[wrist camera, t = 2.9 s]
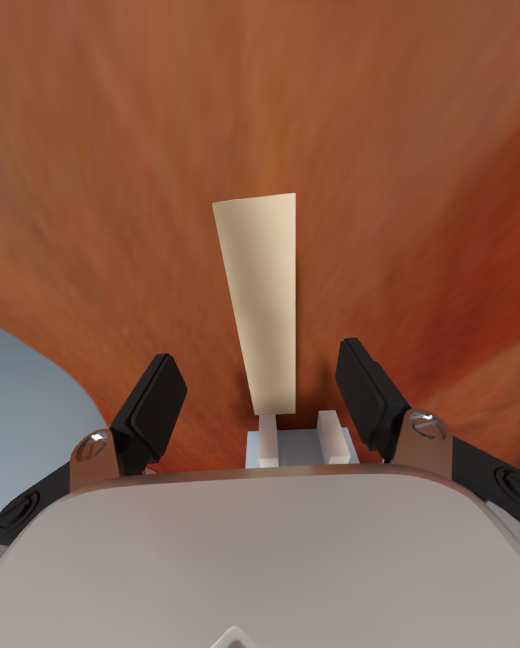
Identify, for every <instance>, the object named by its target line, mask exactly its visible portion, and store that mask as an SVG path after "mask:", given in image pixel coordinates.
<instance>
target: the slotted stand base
mask: <svg viewBox="0 0 520 648" xmlns="http://www.w3.org/2000/svg"><path fill="white" fill-rule="evenodd" d="M354 463H360V462H359V460H358V457H357V454H356V451H355V448H354V446H353V443H352V440H351V437H350V435H349V432H348V429H347V428H341V426H340V423H339V420H338V417H337V414H336V411H335V410H326V411H319V412H318V421H317V429H299V430H277V426H276V416H275V414H271V415H259V431H248V437H247V453H246V468H245V469H247V468H266V467H285V466H306V465H326V464H354Z"/></svg>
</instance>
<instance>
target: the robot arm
mask: <svg viewBox="0 0 520 648" xmlns="http://www.w3.org/2000/svg"><path fill="white" fill-rule="evenodd" d="M335 378H336V382H337V385H338V387H339V389H340V392H341V394H342V396H343V399H344V401H345V403H346V406H347V408H348V410H349V413H350V415H351V417H352V420H353V422H354V424H355V427H356V429H357V431H358V434H359V436H360V438H361V441H362V442H363V444H367V446H368V449H369V451H378V452H379V454H380V456H381V457H382V458H383V461H382V463H354V464H326V465H306V466H285V467H266V468H247V469H229V470H211V471H194V472H177V473H161V474H149V475H146V472H145V468H146V466H147V464H152V463H158V462H159V460H160V457H161V456H163V455H164V453H165V451H166V448H167V445H168V443H169V440H170V437H171V434H172V432H173V429H174V426H175V424H176V421H177V418H178V415H179V413H180V410H181V407H182V404H183V402H184V399H185V396H186V394H187V386H186V384H185V382H184V380H183V378H182V376H181V373H180V371H179V369H178V367H177V365H176V363H175V360H174V358H173V357H172V356H170V355H169V354H157V355H156V356H155V357H154V359H153V360H152V362H151V363H150V365H149V366H148V368H147V369H146V371H145V373H144V374H143V376H142V377H141V379H140V380H139V382H138V383H137V385H136V386H135V388H134V389H133V391H132V392H131V394H130V396H129V397H128V399H127V400H126V402H125V403H124V405H123V406H122V408H121V409H120V411H119V412H118V414H117V415H116V417H115V418H114V420H113V422H112V423H111V427H110V429H109V430H108V429H100V430H97V431H95V432H93V433H91V434H89V435H88V436H86V437H85V438H84V439H83V440H82V441H81V442H80V443H79V444H78V445H77V446H76V447H75V449H74V450H73V452H72V454H71V459H70V461H69V462H67V463H66V464H65V465H63V466H62V467H60V468H59V469H57V470H56V471H54V472H53V473H51V474H50V475H48V476H47V477H45V478H44V479H42V480H41V481H39V482H38V483H36V484H35V485H33V486H32V487H30V488H29V489H27V490H26V491H25V492H23V493H22V494H20V495H19V496H17V497H16V498H15V499H13V500H12V501H11V502H10V503H9V504H8V505H7V506H6V507H5V508H4V509H3V510H2V511H1V512H0V648H520V470H519V469H517V468H515V467H513V466H511V465H509V464H507V463H505V462H503V461H501V460H500V459H498V458H496V457H494V456H492V455H490V454H488V453H486V452H484V451H482V450H480V449H478V448H476V447H474V446H472V445H470V444H468V443H466V442H464V441H462V440H460V439H458V438H457V437H455V436H453V435H452V431H451V430H450V428H449V426H448V425H447V424H446V423H445V422H444V421H443V420H442V419H441V418H440V417H438V416H437V415H435V414H433V413H432V412H430V411H427V410H424V409H418V408H414V409H412V408H411V407H410V405H409V404H408V403H407V401H406V400H405V399H404V397H403V396H402V394H401V393H400V392H399V390H398V389H397V388H396V386H395V385H394V384H393V382H392V381H391V379H390V378H389V377H388V375H387V374H386V373H385V371H384V370H383V369H382V367H381V366H380V364H379V363H378V362H376V361H373V360H372V358H371V357H370V355H369V354H368V353H367V351H366V350H365V348H364V347H363V346H362V344H361V343H360V341H359V340H358V339H357V338H346V339H344V341H342V342H341V344H340V350H339V356H338V362H337V369H336V375H335Z"/></svg>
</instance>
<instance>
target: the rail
mask: <svg viewBox="0 0 520 648" xmlns="http://www.w3.org/2000/svg"><path fill="white" fill-rule="evenodd" d="M212 206H213V211H214V215H215V220H216V225H217V230H218V235H219V240H220V245H221V250H222V255H223V260H224V265H225V270H226V275H227V280H228V285H229V289H230V294H231V299H232V304H233V309H234V314H235V319H236V324H237V329H238V334H239V339H240V344H241V349H242V354H243V359H244V364H245V368H246V373H247V378H248V383H249V388H250V393H251V398H252V403H253V408H254V413H255V415H271V414H293V413H295V193H288V194H278V195H270V196H262V197H253V198H245V199H237V200H229V201H223V202H216V203H212Z"/></svg>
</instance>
